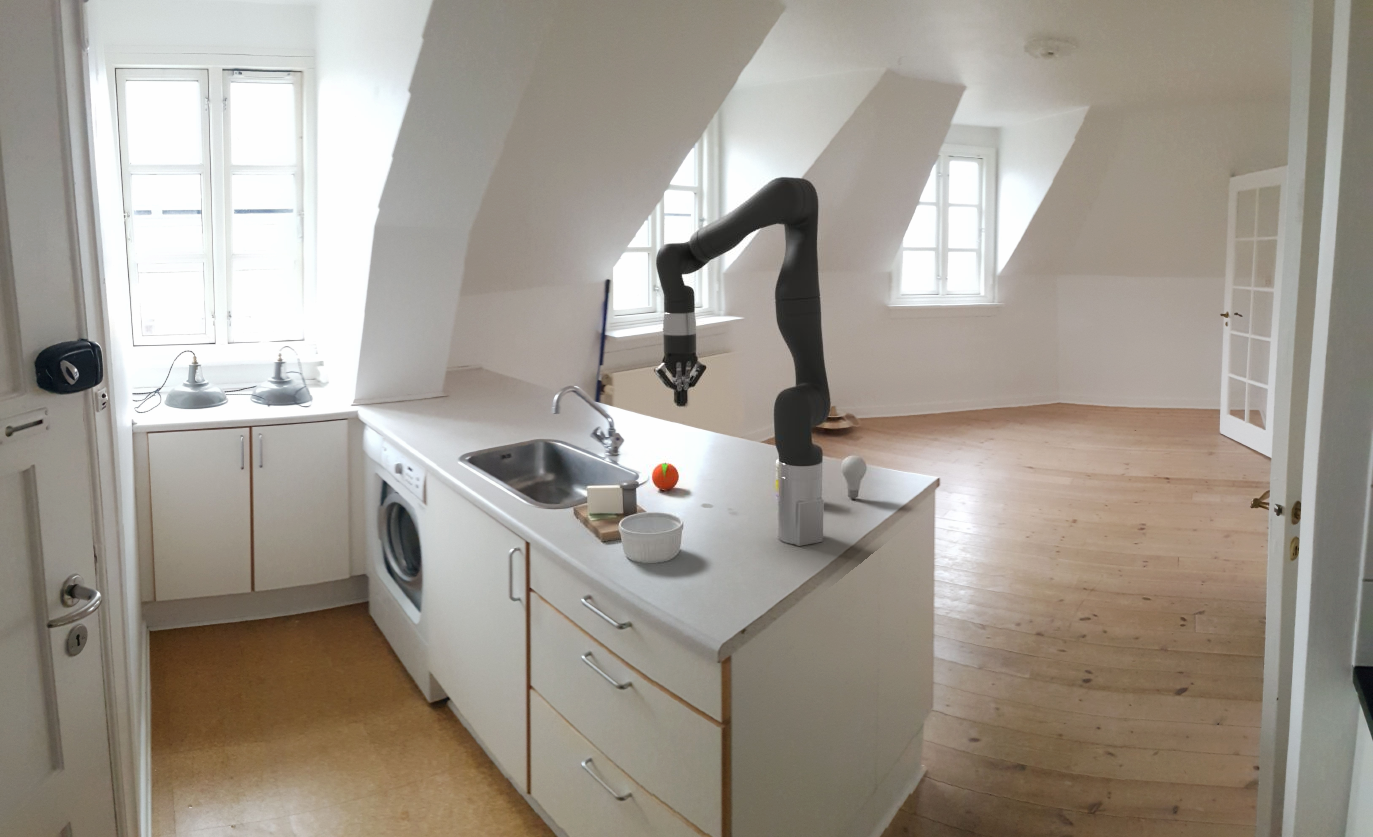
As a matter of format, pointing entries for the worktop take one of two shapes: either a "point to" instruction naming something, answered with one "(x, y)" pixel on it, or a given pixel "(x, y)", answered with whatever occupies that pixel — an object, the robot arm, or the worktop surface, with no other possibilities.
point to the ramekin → (651, 536)
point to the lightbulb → (853, 474)
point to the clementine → (665, 476)
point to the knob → (613, 498)
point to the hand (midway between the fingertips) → (680, 405)
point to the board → (602, 522)
